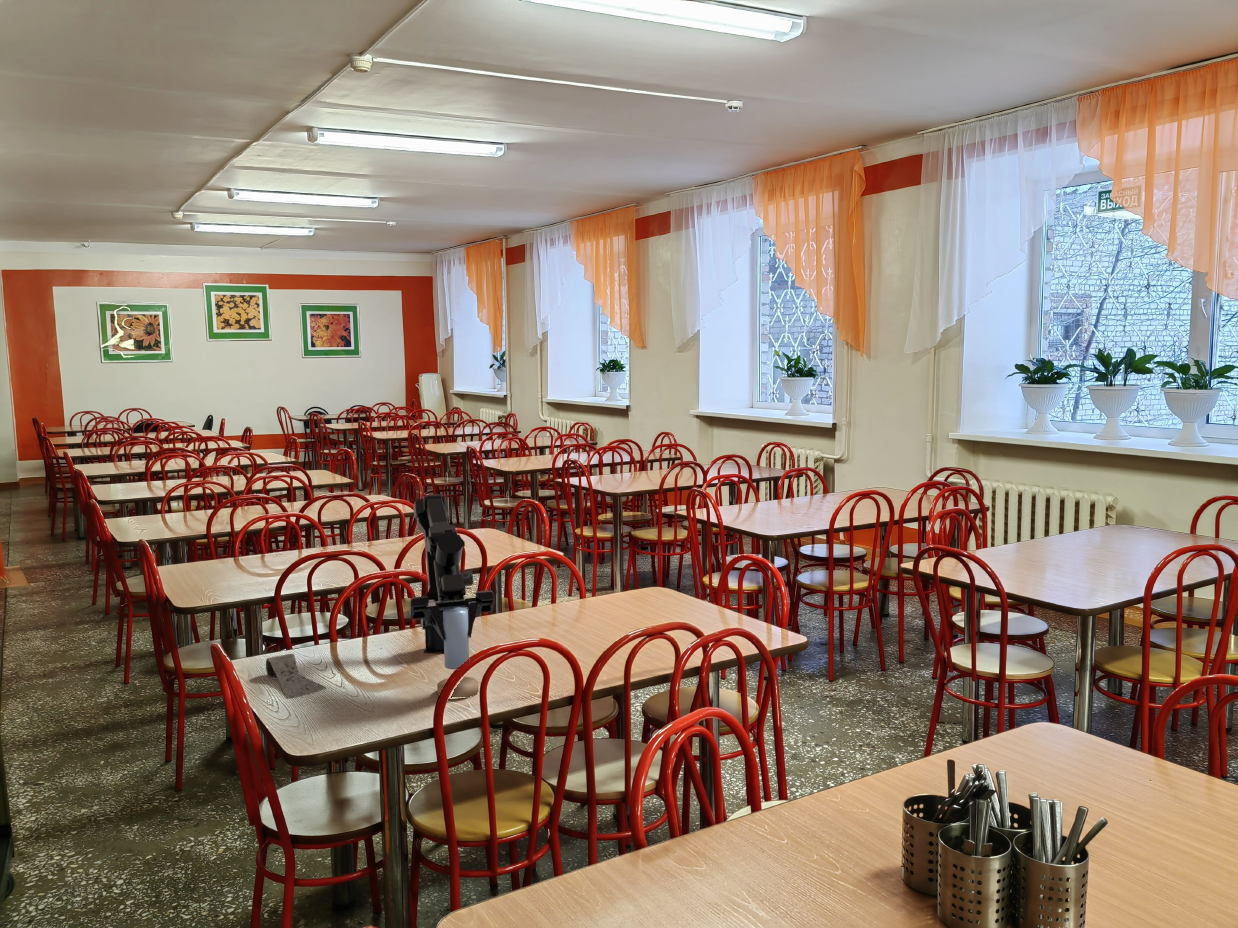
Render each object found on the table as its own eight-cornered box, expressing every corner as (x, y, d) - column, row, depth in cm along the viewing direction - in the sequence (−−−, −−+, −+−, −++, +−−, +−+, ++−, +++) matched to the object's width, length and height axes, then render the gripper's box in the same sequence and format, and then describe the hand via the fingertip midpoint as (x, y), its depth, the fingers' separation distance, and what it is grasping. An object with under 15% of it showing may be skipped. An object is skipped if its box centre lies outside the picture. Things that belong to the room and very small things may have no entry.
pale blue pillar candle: (445, 670, 205) (443, 614, 204) (444, 662, 210) (442, 608, 209) (470, 668, 206) (468, 612, 205) (468, 660, 212) (466, 606, 210)
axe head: (333, 683, 210) (288, 693, 204) (333, 704, 212) (288, 715, 206) (301, 647, 226) (258, 656, 220) (301, 667, 227) (258, 675, 221)
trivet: (432, 699, 205) (432, 690, 205) (443, 684, 214) (442, 676, 213) (473, 699, 204) (473, 690, 204) (482, 685, 213) (482, 676, 213)
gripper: (408, 561, 206) (415, 624, 197) (492, 555, 212) (503, 615, 203) (406, 588, 215) (413, 649, 206) (487, 581, 220) (497, 640, 211)
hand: (457, 638), depth 206 cm, fingers closed on pale blue pillar candle, 5 cm apart
